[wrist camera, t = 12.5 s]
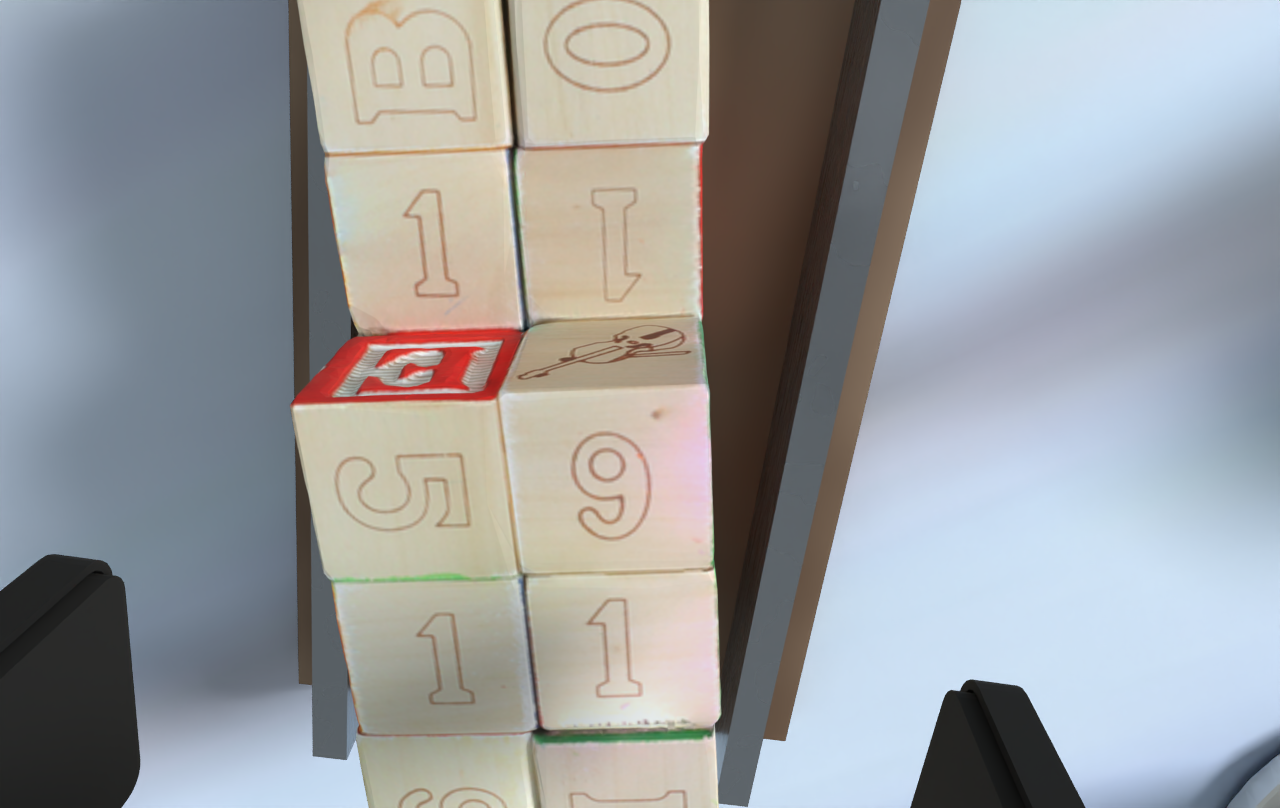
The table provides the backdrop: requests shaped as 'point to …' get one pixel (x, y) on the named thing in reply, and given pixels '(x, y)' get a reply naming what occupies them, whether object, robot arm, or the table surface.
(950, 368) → the table surface
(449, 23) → the stack of blocks
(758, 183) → the track
